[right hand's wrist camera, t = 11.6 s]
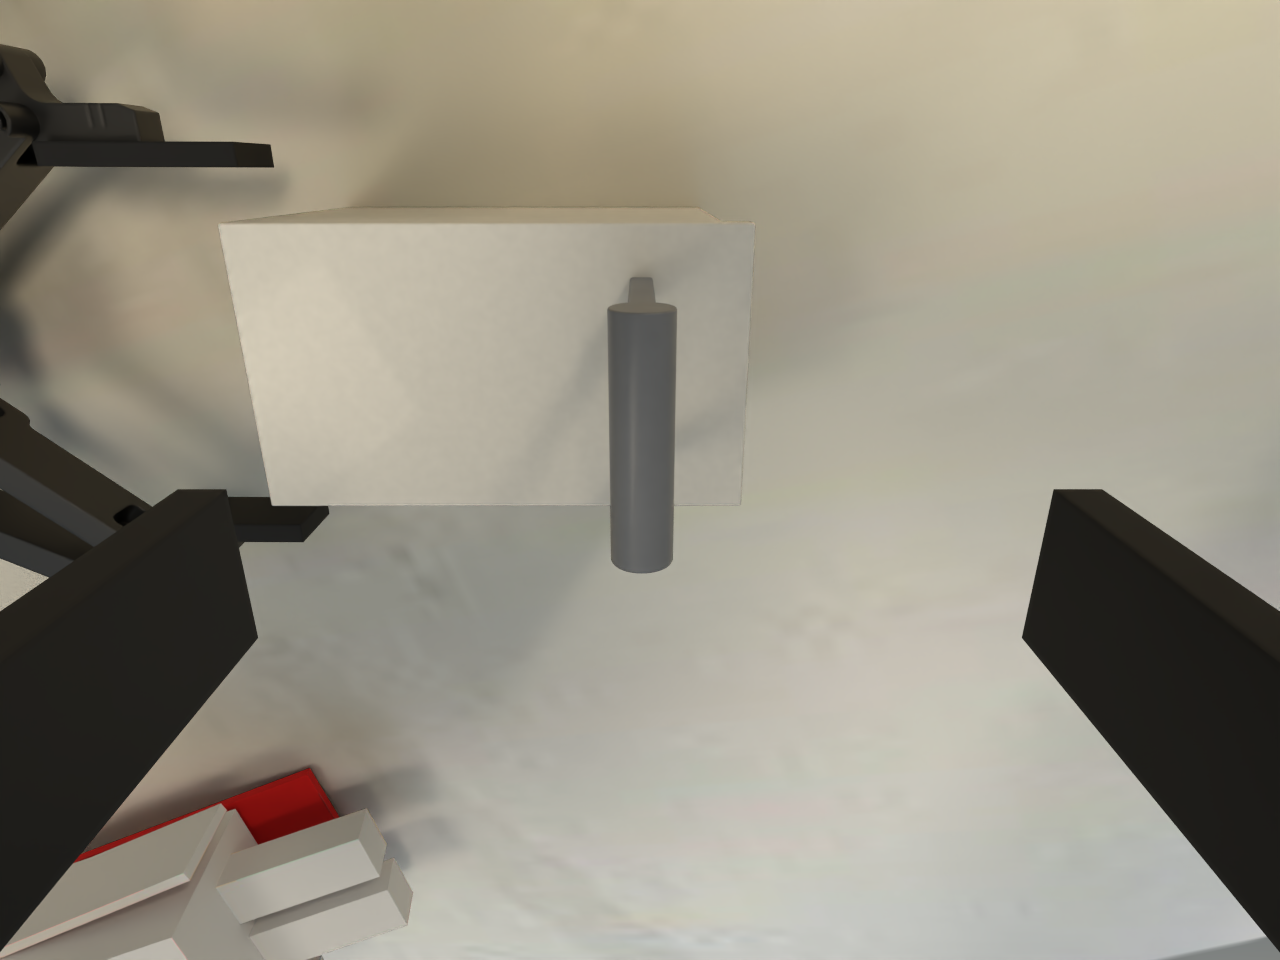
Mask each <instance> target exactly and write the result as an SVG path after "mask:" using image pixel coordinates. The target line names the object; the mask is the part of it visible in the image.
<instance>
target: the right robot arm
mask: <svg viewBox="0 0 1280 960" xmlns="http://www.w3.org/2000/svg"><path fill="white" fill-rule="evenodd" d="M257 638H258V635H257V631H256V626H255V621H254V617H253V612H252V607H251V603H250V598H249V593H248V589H247V584H246V579H245V575H244V570H243V565H242V561H241V556H240V551H239V547H238V542H237V537H236V533H235V528H234V523H233V519H232V514H231V509H230V505H229V500H228V495H227V491H226V489H178V490H176V491H175V492H173V493H172V494H171V495H169V496H168V497H166V498H165V499H163V500H162V501H160V502H159V503H157V504H156V505H155V506H153V507H152V508H150V509H149V510H147V511H146V512H144V513H143V514H141V515H140V516H139V517H137V518H136V519H134V520H133V521H131V522H130V523H128V524H127V525H125V526H124V527H123V528H121V529H120V530H118V531H117V532H115V533H114V534H112V535H111V536H109V537H108V538H107V539H105V540H104V541H102V542H101V543H99V544H98V545H96V546H95V547H93V548H92V549H91V550H89V551H88V552H86V553H85V554H83V555H82V556H80V557H79V558H77V559H76V560H75V561H73V562H72V563H70V564H69V565H67V566H66V567H64V568H63V569H61V570H60V571H59V572H57V573H56V574H54V575H53V576H51V577H50V578H48V579H47V580H45V581H44V582H42V583H41V584H40V585H38V586H37V587H35V588H34V589H32V590H31V591H29V592H28V593H26V594H25V595H24V596H22V597H21V598H19V599H18V600H16V601H15V602H13V603H12V604H10V605H9V606H8V607H6V608H5V609H3V610H2V611H0V952H1V951H2V949H3V948H4V947H5V946H6V945H7V943H8V942H9V941H10V940H11V938H12V937H13V936H14V935H15V934H16V932H17V931H18V930H19V929H20V927H21V926H22V925H23V924H24V923H25V921H26V920H27V919H28V918H29V916H30V915H31V914H32V913H33V912H34V910H35V909H36V908H37V907H38V905H39V904H40V903H41V902H42V901H43V899H44V898H45V897H46V896H47V895H48V893H49V892H50V891H51V890H52V888H53V887H54V886H55V885H56V884H57V882H58V881H59V880H60V879H61V877H62V876H63V875H64V874H65V873H66V871H67V870H68V869H69V868H70V866H71V865H72V864H73V863H74V862H75V860H76V859H77V858H78V857H79V855H80V854H81V853H82V852H83V851H84V849H85V848H86V847H87V846H88V845H89V843H90V842H91V841H92V840H93V838H94V837H95V836H96V835H97V834H98V832H99V831H100V830H101V829H102V827H103V826H104V825H105V824H106V823H107V821H108V820H109V819H110V818H111V816H112V815H113V814H114V813H115V812H116V810H117V809H118V808H119V807H120V806H121V804H122V803H123V802H124V801H125V799H126V798H127V797H128V796H129V795H130V793H131V792H132V791H133V790H134V788H135V787H136V786H137V785H138V784H139V782H140V781H141V780H142V779H143V777H144V776H145V775H146V774H147V773H148V771H149V770H150V769H151V768H152V766H153V765H154V764H155V763H156V762H157V760H158V759H159V758H160V757H161V756H162V754H163V753H164V752H165V751H166V749H167V748H168V747H169V746H170V745H171V743H172V742H173V741H174V740H175V738H176V737H177V736H178V735H179V734H180V732H181V731H182V730H183V729H184V727H185V726H186V725H187V724H188V723H189V721H190V720H191V719H192V718H193V716H194V715H195V714H196V713H197V712H198V710H199V709H200V708H201V707H202V706H203V704H204V703H205V702H206V701H207V699H208V698H209V697H210V696H211V695H212V693H213V692H214V691H215V690H216V688H217V687H218V686H219V685H220V684H221V682H222V681H223V680H224V679H225V677H226V676H227V675H228V674H229V673H230V671H231V670H232V669H233V668H234V666H235V665H236V664H237V663H238V662H239V660H240V659H241V658H242V657H243V656H244V654H245V653H246V652H247V651H248V649H249V648H250V647H251V646H252V645H253V643H254V642H255V641H256V640H257ZM1022 638H1023V640H1024V641H1025V642H1026V643H1027V645H1028V646H1029V647H1030V648H1031V649H1032V651H1033V652H1034V653H1035V654H1036V656H1037V657H1038V658H1039V659H1040V660H1041V662H1042V663H1043V664H1044V665H1045V666H1046V668H1047V669H1048V670H1049V671H1050V673H1051V674H1052V675H1053V676H1054V677H1055V679H1056V680H1057V681H1058V682H1059V684H1060V685H1061V686H1062V687H1063V688H1064V690H1065V691H1066V692H1067V693H1068V695H1069V696H1070V697H1071V698H1072V699H1073V701H1074V702H1075V703H1076V704H1077V706H1078V707H1079V708H1080V709H1081V710H1082V712H1083V713H1084V714H1085V715H1086V716H1087V718H1088V719H1089V720H1090V721H1091V723H1092V724H1093V725H1094V726H1095V727H1096V729H1097V730H1098V731H1099V732H1100V734H1101V735H1102V736H1103V737H1104V738H1105V740H1106V741H1107V742H1108V743H1109V745H1110V746H1111V747H1112V748H1113V749H1114V751H1115V752H1116V753H1117V754H1118V756H1119V757H1120V758H1121V759H1122V760H1123V762H1124V763H1125V764H1126V765H1127V766H1128V768H1129V769H1130V770H1131V771H1132V773H1133V774H1134V775H1135V776H1136V777H1137V779H1138V780H1139V781H1140V782H1141V784H1142V785H1143V786H1144V787H1145V788H1146V790H1147V791H1148V792H1149V793H1150V795H1151V796H1152V797H1153V798H1154V799H1155V801H1156V802H1157V803H1158V804H1159V806H1160V807H1161V808H1162V809H1163V810H1164V812H1165V813H1166V814H1167V815H1168V816H1169V818H1170V819H1171V820H1172V821H1173V823H1174V824H1175V825H1176V826H1177V827H1178V829H1179V830H1180V831H1181V832H1182V834H1183V835H1184V836H1185V837H1186V838H1187V840H1188V841H1189V842H1190V843H1191V845H1192V846H1193V847H1194V848H1195V849H1196V851H1197V852H1198V853H1199V854H1200V855H1201V857H1202V858H1203V859H1204V860H1205V862H1206V863H1207V864H1208V865H1209V866H1210V868H1211V869H1212V870H1213V871H1214V873H1215V874H1216V875H1217V876H1218V877H1219V879H1220V880H1221V881H1222V882H1223V884H1224V885H1225V886H1226V887H1227V888H1228V890H1229V891H1230V892H1231V893H1232V895H1233V896H1234V897H1235V898H1236V899H1237V901H1238V902H1239V903H1240V904H1241V905H1242V907H1243V908H1244V909H1245V910H1246V912H1247V913H1248V914H1249V915H1250V916H1251V918H1252V919H1253V920H1254V921H1255V923H1256V924H1257V925H1258V926H1259V927H1260V929H1261V930H1262V931H1263V932H1264V934H1265V935H1266V936H1267V937H1268V938H1269V940H1270V941H1271V942H1272V943H1273V945H1274V946H1275V947H1276V948H1277V949H1278V951H1279V952H1280V611H1278V610H1277V609H1275V608H1274V607H1272V606H1271V605H1270V604H1268V603H1267V602H1265V601H1264V600H1262V599H1261V598H1259V597H1258V596H1256V595H1255V594H1254V593H1252V592H1251V591H1249V590H1248V589H1246V588H1245V587H1243V586H1242V585H1240V584H1239V583H1238V582H1236V581H1235V580H1233V579H1232V578H1230V577H1229V576H1227V575H1226V574H1224V573H1223V572H1221V571H1220V570H1219V569H1217V568H1216V567H1214V566H1213V565H1211V564H1210V563H1208V562H1207V561H1205V560H1204V559H1203V558H1201V557H1200V556H1198V555H1197V554H1195V553H1194V552H1192V551H1191V550H1189V549H1188V548H1187V547H1185V546H1184V545H1182V544H1181V543H1179V542H1178V541H1176V540H1175V539H1173V538H1172V537H1171V536H1169V535H1168V534H1166V533H1165V532H1163V531H1162V530H1160V529H1159V528H1157V527H1156V526H1155V525H1153V524H1152V523H1150V522H1149V521H1147V520H1146V519H1144V518H1143V517H1141V516H1140V515H1139V514H1137V513H1136V512H1134V511H1133V510H1131V509H1130V508H1128V507H1127V506H1125V505H1124V504H1123V503H1121V502H1120V501H1118V500H1117V499H1115V498H1114V497H1112V496H1111V495H1109V494H1108V493H1107V492H1105V491H1104V490H1102V489H1054V491H1053V495H1052V500H1051V505H1050V509H1049V514H1048V519H1047V523H1046V528H1045V533H1044V537H1043V542H1042V547H1041V551H1040V556H1039V561H1038V565H1037V570H1036V575H1035V579H1034V584H1033V589H1032V593H1031V598H1030V603H1029V607H1028V612H1027V617H1026V621H1025V626H1024V631H1023V635H1022Z"/></svg>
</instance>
